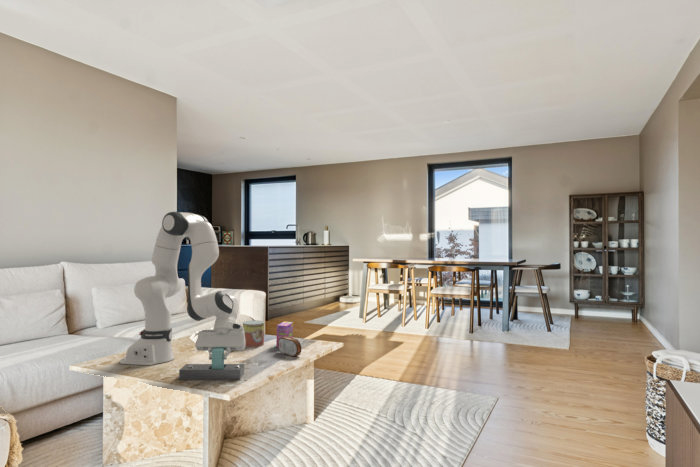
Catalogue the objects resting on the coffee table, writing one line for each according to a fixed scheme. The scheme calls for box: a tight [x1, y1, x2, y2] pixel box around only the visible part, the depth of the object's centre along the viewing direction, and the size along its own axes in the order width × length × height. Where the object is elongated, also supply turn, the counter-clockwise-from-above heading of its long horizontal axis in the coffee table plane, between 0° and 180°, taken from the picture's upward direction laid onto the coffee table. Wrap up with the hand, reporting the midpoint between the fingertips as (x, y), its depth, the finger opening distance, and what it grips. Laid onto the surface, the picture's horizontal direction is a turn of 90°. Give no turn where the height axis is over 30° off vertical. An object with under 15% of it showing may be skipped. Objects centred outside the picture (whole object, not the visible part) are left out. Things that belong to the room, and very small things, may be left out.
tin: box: [278, 336, 302, 357], centre depth 206 cm, size 15×3×8 cm, turn 48°
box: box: [275, 321, 294, 349], centre depth 224 cm, size 10×6×12 cm, turn 168°
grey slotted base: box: [178, 363, 245, 381], centre depth 172 cm, size 24×8×4 cm, turn 93°
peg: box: [211, 348, 225, 369], centre depth 172 cm, size 4×4×9 cm
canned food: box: [242, 319, 265, 348], centre depth 225 cm, size 11×11×12 cm
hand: (217, 358), depth 171 cm, fingers closed on peg, 4 cm apart
